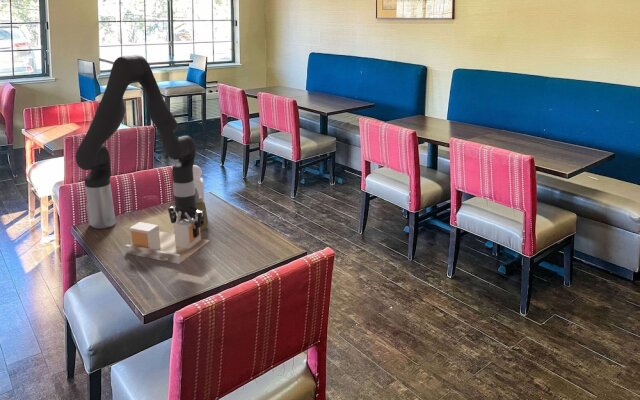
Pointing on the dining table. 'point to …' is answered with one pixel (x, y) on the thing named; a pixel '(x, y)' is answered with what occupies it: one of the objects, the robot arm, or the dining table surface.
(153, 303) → the dining table surface
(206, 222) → the squeeze bottle
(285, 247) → the dining table surface
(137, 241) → the faced carton
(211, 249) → the dining table surface
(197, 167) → the white figurine
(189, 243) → the turned carton
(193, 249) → the shelf board
